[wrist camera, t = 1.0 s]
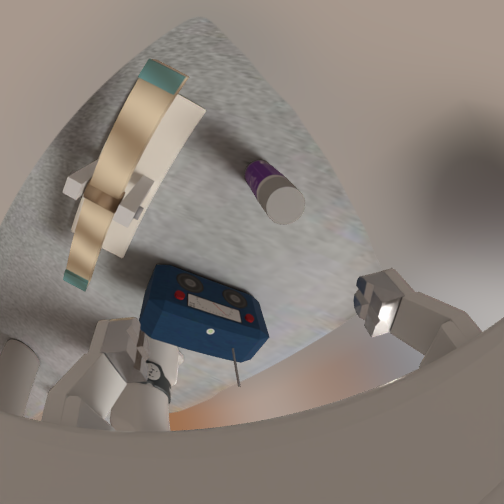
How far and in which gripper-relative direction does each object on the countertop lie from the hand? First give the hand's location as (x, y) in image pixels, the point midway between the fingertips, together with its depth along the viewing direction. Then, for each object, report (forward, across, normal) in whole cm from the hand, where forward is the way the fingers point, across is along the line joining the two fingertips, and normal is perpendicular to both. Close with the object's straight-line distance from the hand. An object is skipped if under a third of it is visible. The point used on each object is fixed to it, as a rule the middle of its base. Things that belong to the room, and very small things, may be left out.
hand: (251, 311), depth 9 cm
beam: (+24, +13, +1) cm, 27 cm away
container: (+35, -7, +6) cm, 36 cm away
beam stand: (+35, +14, +1) cm, 37 cm away
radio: (+34, +6, +26) cm, 43 cm away
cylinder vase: (+33, +65, +40) cm, 83 cm away
